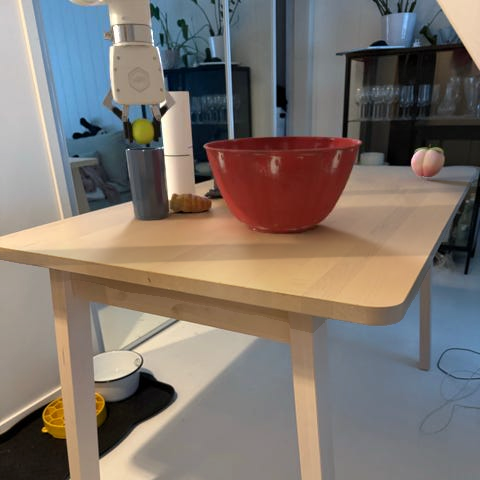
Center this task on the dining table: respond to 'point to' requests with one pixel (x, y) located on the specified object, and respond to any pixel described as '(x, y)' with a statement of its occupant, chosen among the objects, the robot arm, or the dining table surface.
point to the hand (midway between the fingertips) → (143, 141)
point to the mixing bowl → (282, 179)
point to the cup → (148, 183)
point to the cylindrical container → (178, 146)
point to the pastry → (189, 203)
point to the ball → (142, 131)
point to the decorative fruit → (428, 161)
